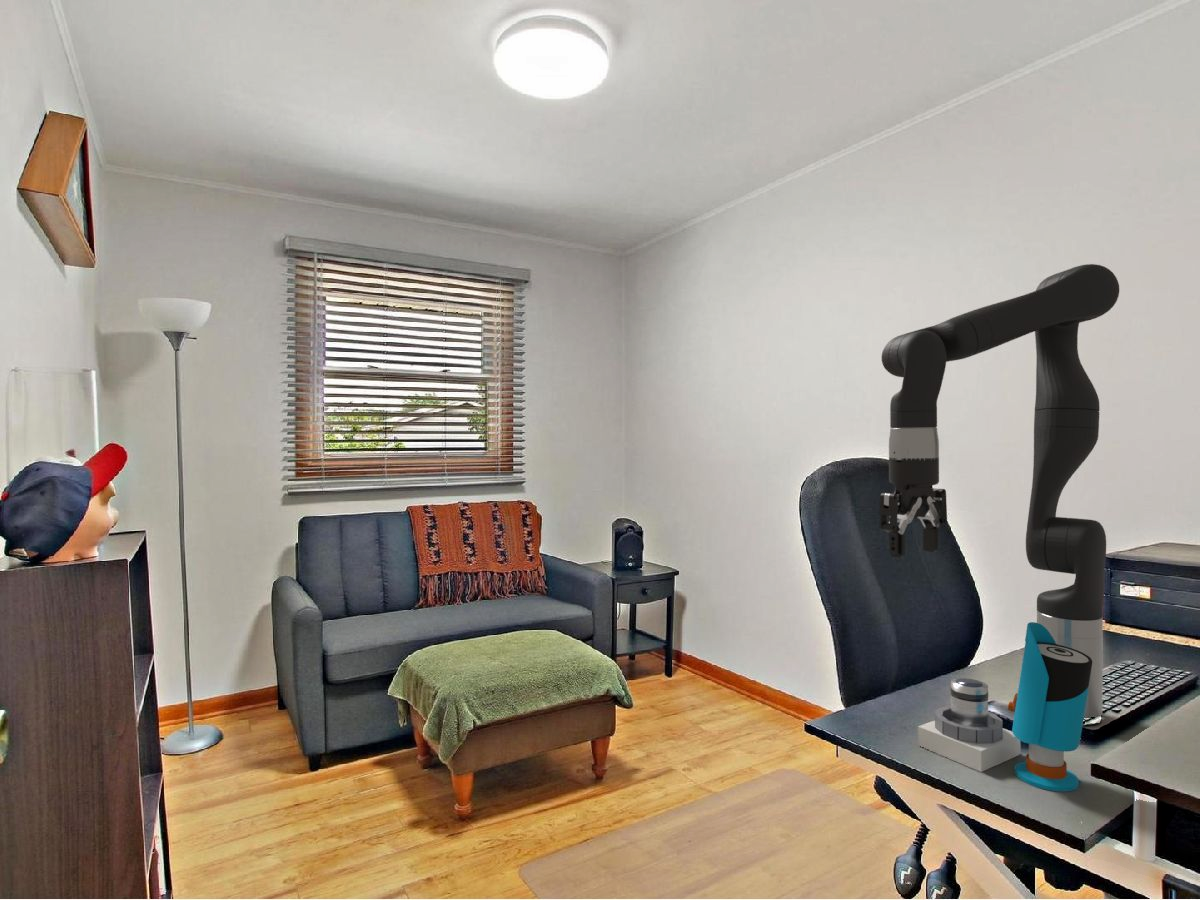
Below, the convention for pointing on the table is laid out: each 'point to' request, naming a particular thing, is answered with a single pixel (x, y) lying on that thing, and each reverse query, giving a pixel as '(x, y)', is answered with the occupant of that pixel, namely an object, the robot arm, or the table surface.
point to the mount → (969, 741)
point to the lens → (969, 702)
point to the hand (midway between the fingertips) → (914, 554)
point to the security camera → (1049, 708)
